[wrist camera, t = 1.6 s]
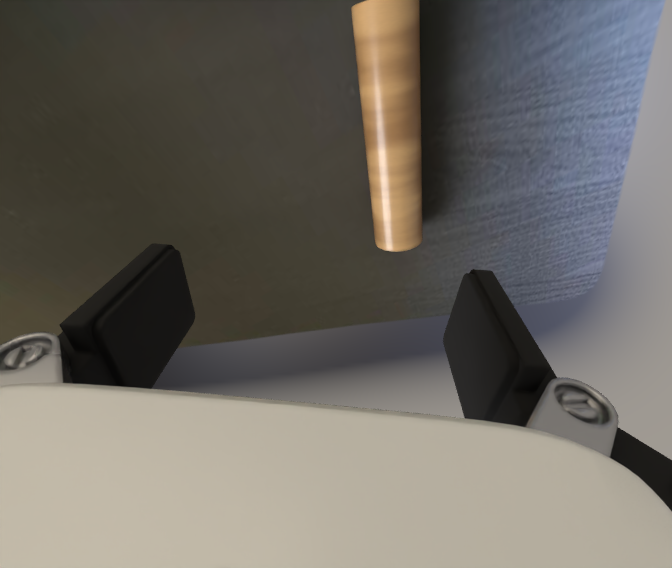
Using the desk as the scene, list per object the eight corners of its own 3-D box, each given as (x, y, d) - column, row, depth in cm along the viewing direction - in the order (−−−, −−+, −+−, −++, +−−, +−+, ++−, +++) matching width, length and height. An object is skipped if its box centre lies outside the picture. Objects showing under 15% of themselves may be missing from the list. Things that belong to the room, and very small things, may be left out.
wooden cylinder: (361, 10, 22) (342, 6, 19) (423, -5, 20) (413, -13, 17) (381, 229, 30) (370, 251, 27) (425, 230, 29) (418, 252, 26)
